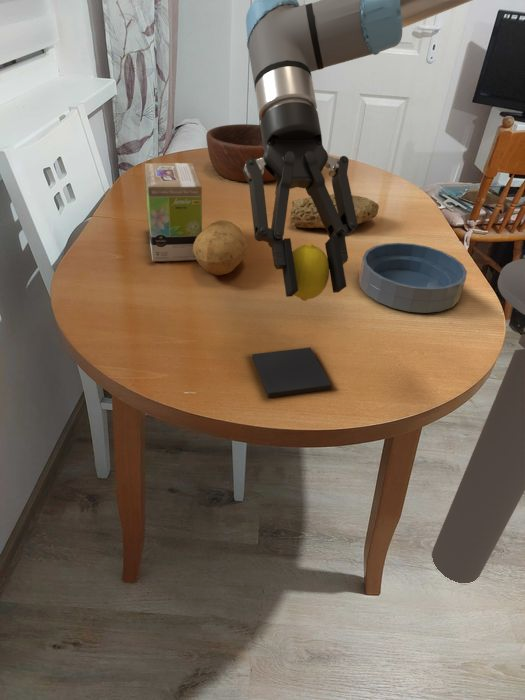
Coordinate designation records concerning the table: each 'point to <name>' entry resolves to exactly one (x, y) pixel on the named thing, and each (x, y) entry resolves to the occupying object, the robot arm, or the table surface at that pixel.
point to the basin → (412, 277)
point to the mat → (290, 372)
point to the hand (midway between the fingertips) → (316, 291)
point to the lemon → (310, 271)
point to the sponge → (364, 208)
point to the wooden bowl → (235, 149)
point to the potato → (220, 247)
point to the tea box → (173, 210)
